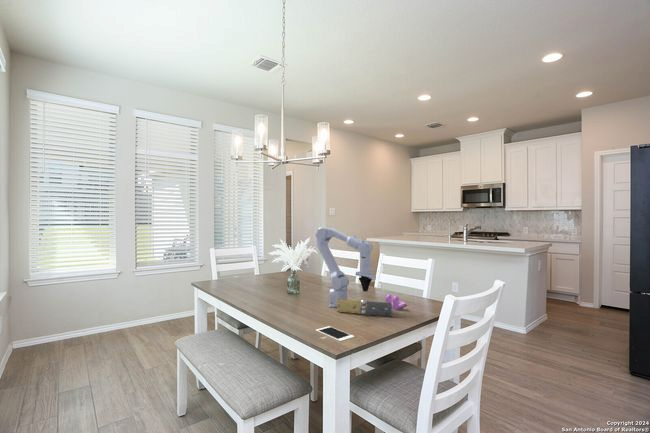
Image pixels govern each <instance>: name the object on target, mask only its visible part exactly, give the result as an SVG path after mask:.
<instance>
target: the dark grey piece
mask: <svg viewBox="0 0 650 433" xmlns="http://www.w3.org/2000/svg"><path fill="white" fill-rule="evenodd" d="M360 301H361V305H362V306H366V310H362V309H361V313H360V315H361V316H379V317H392V315H393V314H392V312H393V311H392V310H393V309H392V303H393V301H392V302H386V301H372V300H371V301H369V300H366V299H360Z"/></svg>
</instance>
